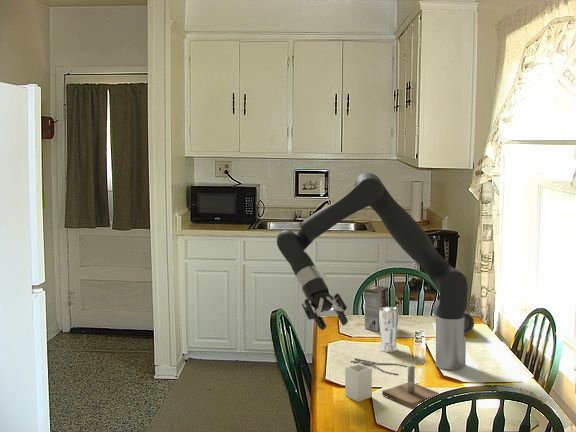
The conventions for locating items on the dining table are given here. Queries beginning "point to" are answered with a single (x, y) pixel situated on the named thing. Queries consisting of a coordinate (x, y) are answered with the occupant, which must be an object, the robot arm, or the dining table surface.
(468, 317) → the bluetooth speaker
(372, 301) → the coffee box
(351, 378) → the sleeve
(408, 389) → the post stand
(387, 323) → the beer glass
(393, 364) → the pliers
